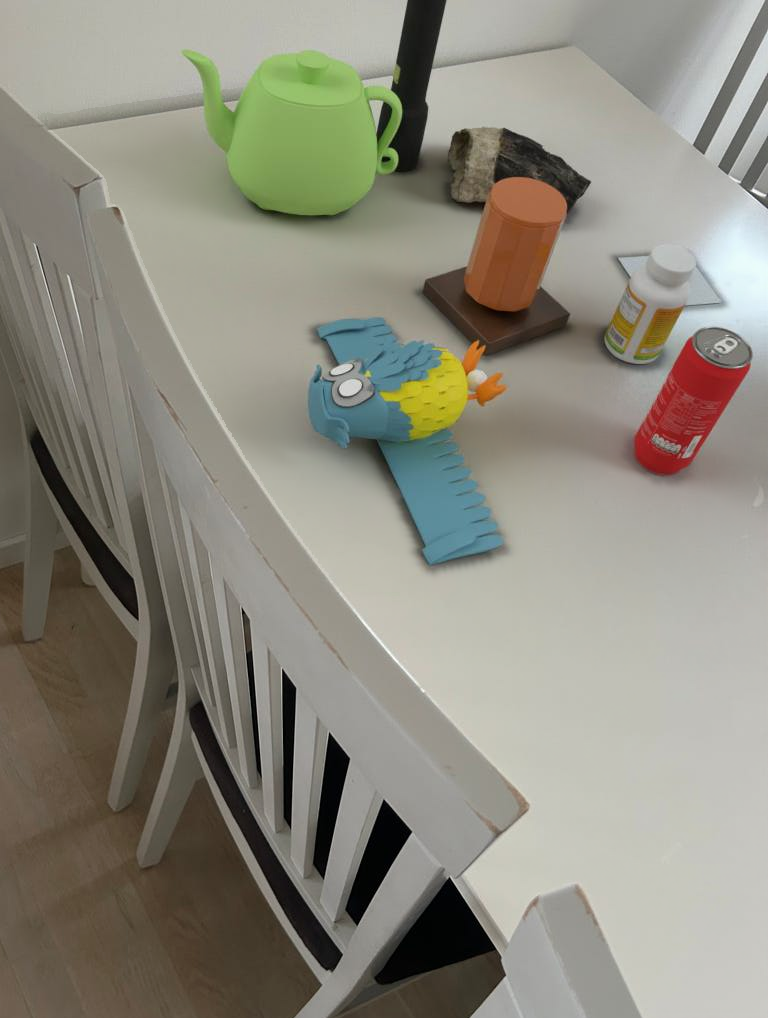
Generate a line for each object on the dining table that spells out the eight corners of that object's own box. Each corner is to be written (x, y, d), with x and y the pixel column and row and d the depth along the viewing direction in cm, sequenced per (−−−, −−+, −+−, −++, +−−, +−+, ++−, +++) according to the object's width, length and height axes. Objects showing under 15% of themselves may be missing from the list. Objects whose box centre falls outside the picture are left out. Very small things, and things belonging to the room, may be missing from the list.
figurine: (666, 289, 99) (674, 273, 98) (654, 272, 101) (661, 255, 99) (686, 288, 100) (695, 271, 98) (674, 270, 101) (682, 254, 100)
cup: (505, 257, 95) (534, 169, 88) (550, 299, 92) (583, 211, 85) (450, 275, 93) (474, 186, 85) (494, 319, 90) (523, 230, 82)
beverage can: (617, 451, 86) (676, 339, 76) (653, 427, 88) (715, 315, 78) (663, 488, 84) (730, 378, 74) (699, 462, 86) (769, 353, 76)
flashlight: (407, 143, 109) (365, 147, 108) (460, -114, 90) (410, -113, 88) (425, 169, 107) (382, 173, 106) (484, -90, 87) (433, -88, 86)
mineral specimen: (455, 92, 105) (596, 100, 105) (443, 159, 111) (577, 168, 111) (460, 154, 97) (612, 164, 97) (448, 223, 103) (591, 232, 103)
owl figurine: (578, 467, 71) (384, 503, 68) (543, 542, 79) (365, 578, 75) (434, 233, 86) (267, 253, 82) (415, 315, 93) (261, 337, 89)
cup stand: (501, 266, 99) (535, 161, 90) (565, 326, 94) (608, 223, 85) (421, 292, 95) (448, 186, 86) (484, 356, 91) (520, 251, 82)
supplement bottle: (664, 340, 95) (710, 251, 87) (651, 373, 92) (698, 284, 84) (610, 321, 96) (651, 231, 88) (596, 352, 93) (637, 263, 85)
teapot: (177, 221, 97) (178, 86, 86) (183, 137, 106) (184, 4, 95) (396, 239, 99) (424, 109, 89) (385, 155, 108) (410, 27, 97)
